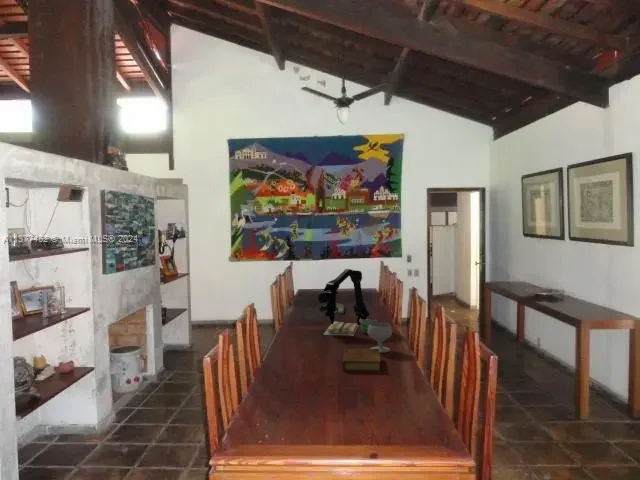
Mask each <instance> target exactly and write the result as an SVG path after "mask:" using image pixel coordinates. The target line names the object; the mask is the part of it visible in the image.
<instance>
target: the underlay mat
mask: <svg viewBox="0 0 640 480" xmlns="http://www.w3.org/2000/svg"><path fill="white" fill-rule="evenodd" d="M345 325H346V324H344V326H345ZM359 326H360V325H358V324H357V327H356V329H355V331H354V333H353V334H341V331H342V330H341V331H340V333H332V332H327V329H326V330H325V332H324V333H323V335H324V336H325V335H326V336H327V335H328V336H331V335H332V336H351V337H352V336H353V337H354V335H355V333H356V332H357V330H358V328H359ZM343 328H344V327H343ZM343 328H342V329H343Z"/></svg>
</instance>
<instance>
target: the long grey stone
mask: <svg viewBox="0 0 640 480" xmlns="http://www.w3.org/2000/svg"><path fill="white" fill-rule="evenodd" d="M336 307H338V308H339V311H338V312H337V311H335V313H337V315H338V314H341V315H343V314H344V313H345V306H344V305H343V304H342V303H337V304H336Z"/></svg>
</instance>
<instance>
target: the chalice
mask: <svg viewBox="0 0 640 480" xmlns="http://www.w3.org/2000/svg"><path fill="white" fill-rule="evenodd" d="M392 335H393V329H392V326H391V324H390V323H388V322H383V321H382V322H381V321H380V322H378V321H377V322H375V323H371V324H370V325H369V327H368V337H370V338H371V339H373V340H374V341H376V342H377V346H372V347H370V348H369V349H379V354H380V353H389V352H391V349H390V347H387V346H382V344H383V342H384V341H386V340H387V339H389V338H391V336H392Z"/></svg>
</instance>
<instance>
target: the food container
mask: <svg viewBox="0 0 640 480" xmlns="http://www.w3.org/2000/svg"><path fill="white" fill-rule="evenodd" d="M359 322H360V323H361V325H360V332H361V334H362V335H368V327H369V325H370V324H371V323H375V322H378V319H376V318H375V319H370V318H367V319H361V318H360V320H359ZM368 336H369V335H368Z"/></svg>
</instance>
